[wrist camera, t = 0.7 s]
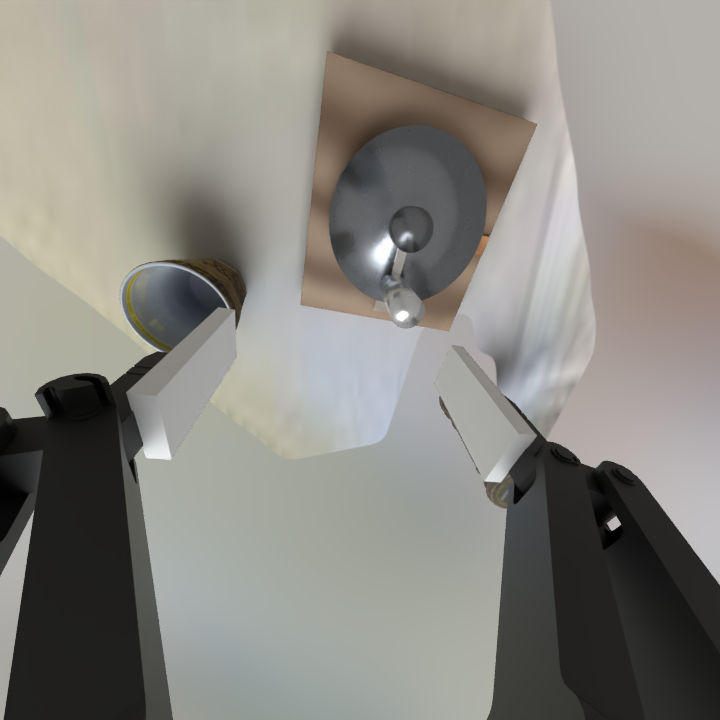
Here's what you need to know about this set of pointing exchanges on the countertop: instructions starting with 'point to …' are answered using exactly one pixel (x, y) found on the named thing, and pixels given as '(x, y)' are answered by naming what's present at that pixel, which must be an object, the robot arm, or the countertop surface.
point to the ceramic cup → (178, 298)
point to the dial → (407, 217)
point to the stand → (362, 124)
